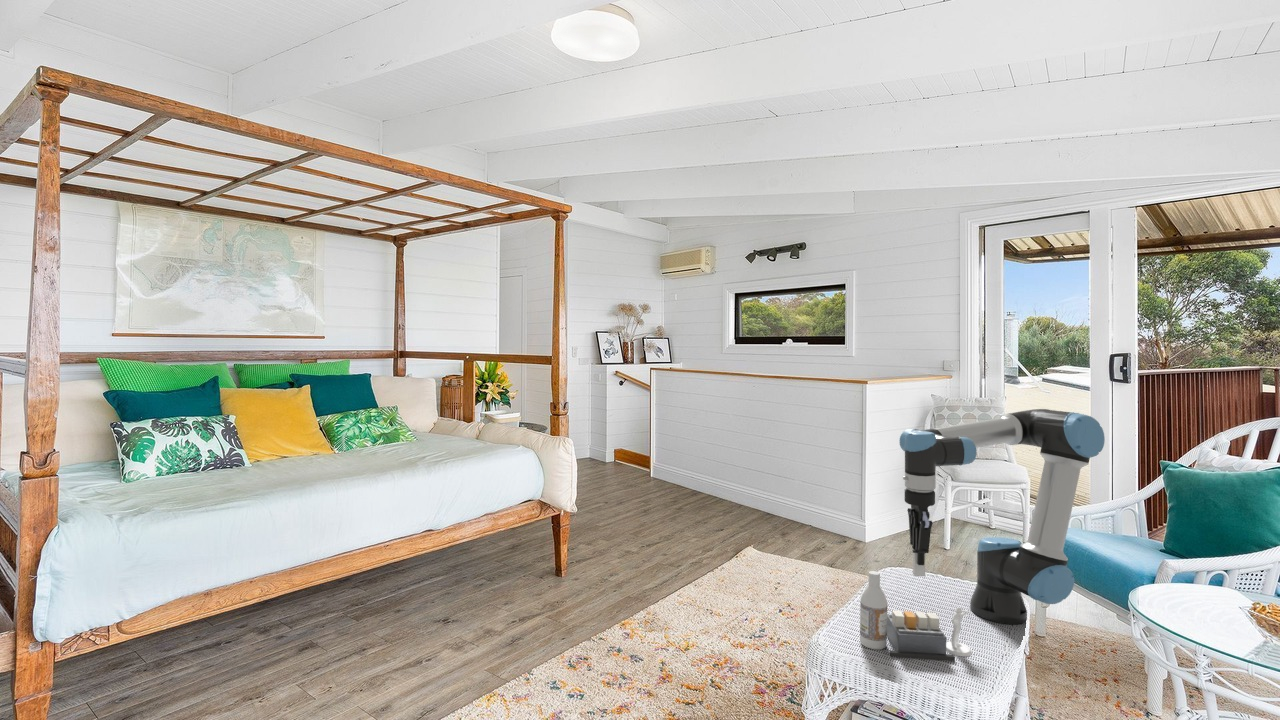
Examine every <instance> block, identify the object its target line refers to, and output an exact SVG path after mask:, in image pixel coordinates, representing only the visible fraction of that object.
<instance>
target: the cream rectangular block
mask: <svg viewBox="0 0 1280 720" xmlns="http://www.w3.org/2000/svg"><path fill="white" fill-rule="evenodd" d="M925 615H926V617H927V618H928V622H927V625H928V626H929V628H930V629H938V630H939V628H940V618H939V616H938V615H937V614H936V612H926V614H925Z"/></svg>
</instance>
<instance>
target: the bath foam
mask: <svg viewBox="0 0 1280 720" xmlns="http://www.w3.org/2000/svg"><path fill="white" fill-rule="evenodd" d="M859 607H860V608H859V610H860V615H859V641H860V643H861V644H862V646H864V647H865V648H868V649H871V650H882V649H883V650H884V649H885V648H886V647H887V646H888V645H887V644H888V643H887V640H888V637H887V614H888V601H887V596H886V594H885V592H884V591H883V589H882V588H881V574H880V572H879V571H876V570H870V571H869V572H868V585H867V586H866V587H865V588H864V590H863V592H862V593H861V596H860V605H859Z"/></svg>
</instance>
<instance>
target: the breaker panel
mask: <svg viewBox="0 0 1280 720" xmlns="http://www.w3.org/2000/svg"><path fill="white" fill-rule="evenodd" d="M887 640H888V641H889V643H890V644H891V646H892V647H893V651H898V652H906V653H920V654H935V655H946V654H947V651H946V642H947V636H946V634H945V633H944V631H942V629H941V628H940V627H939V630H938V629H930V628H929V626H928V625H927V629H922V628H918V626H917V625H916V628H907V626H906V625H905V623H904V627H895V625H894V623H893V622H892V613H887Z"/></svg>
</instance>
